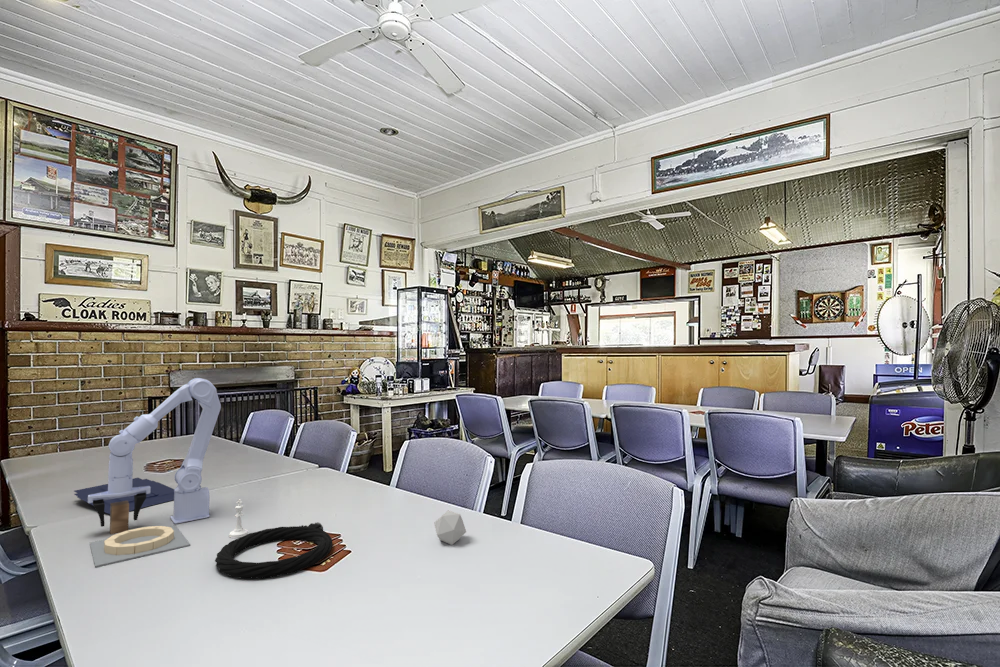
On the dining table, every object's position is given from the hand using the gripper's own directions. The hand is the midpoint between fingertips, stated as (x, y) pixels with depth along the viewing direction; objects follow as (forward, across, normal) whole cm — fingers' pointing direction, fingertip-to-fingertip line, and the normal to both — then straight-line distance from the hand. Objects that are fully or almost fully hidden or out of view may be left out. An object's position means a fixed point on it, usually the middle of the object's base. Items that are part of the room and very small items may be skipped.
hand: (119, 522), depth 145 cm
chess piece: (+3, -25, +27) cm, 37 cm away
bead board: (+2, -3, +17) cm, 17 cm away
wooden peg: (+2, 0, 0) cm, 2 cm away
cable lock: (+3, -29, +49) cm, 57 cm away
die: (+3, -67, +72) cm, 98 cm away
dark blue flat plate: (+3, -6, -35) cm, 36 cm away
